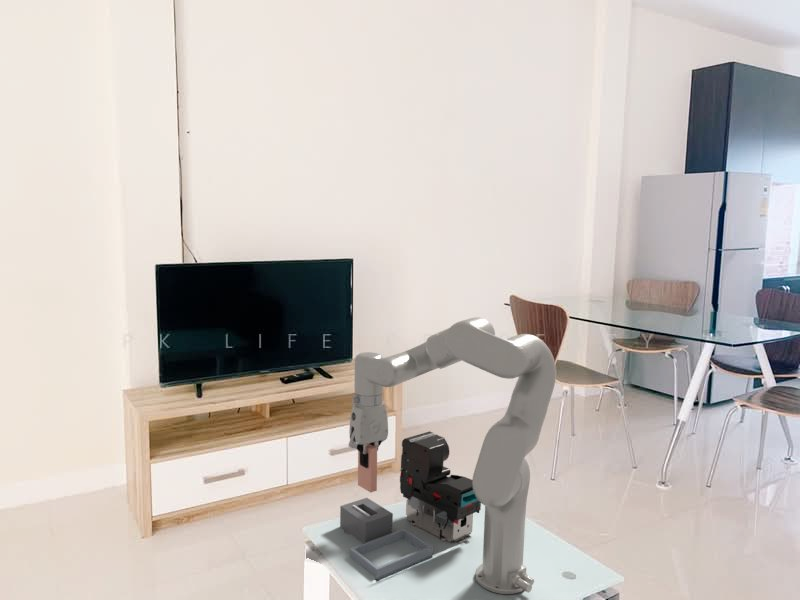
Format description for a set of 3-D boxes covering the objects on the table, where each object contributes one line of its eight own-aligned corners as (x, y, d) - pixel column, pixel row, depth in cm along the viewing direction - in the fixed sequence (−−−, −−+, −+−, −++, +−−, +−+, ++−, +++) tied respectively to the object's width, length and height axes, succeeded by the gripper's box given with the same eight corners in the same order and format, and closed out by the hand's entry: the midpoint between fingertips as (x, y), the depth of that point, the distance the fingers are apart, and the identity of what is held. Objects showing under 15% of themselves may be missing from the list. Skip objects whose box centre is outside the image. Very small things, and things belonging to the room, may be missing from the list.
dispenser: (392, 538, 163) (392, 512, 162) (365, 548, 158) (365, 521, 157) (366, 520, 173) (367, 496, 172) (340, 529, 167) (340, 504, 166)
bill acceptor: (457, 552, 157) (461, 460, 154) (397, 520, 173) (399, 437, 170) (483, 539, 164) (486, 450, 161) (422, 509, 180) (425, 429, 177)
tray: (432, 557, 154) (432, 546, 154) (376, 581, 143) (377, 569, 143) (403, 538, 163) (404, 528, 163) (349, 559, 152) (349, 548, 152)
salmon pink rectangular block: (376, 490, 162) (377, 447, 161) (370, 492, 161) (371, 449, 159) (363, 483, 166) (364, 441, 165) (357, 485, 165) (358, 442, 164)
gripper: (351, 407, 153) (351, 477, 155) (400, 397, 163) (399, 463, 165) (336, 400, 159) (335, 467, 161) (383, 391, 168) (382, 455, 170)
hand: (367, 465), depth 163 cm, fingers closed on salmon pink rectangular block, 1 cm apart
